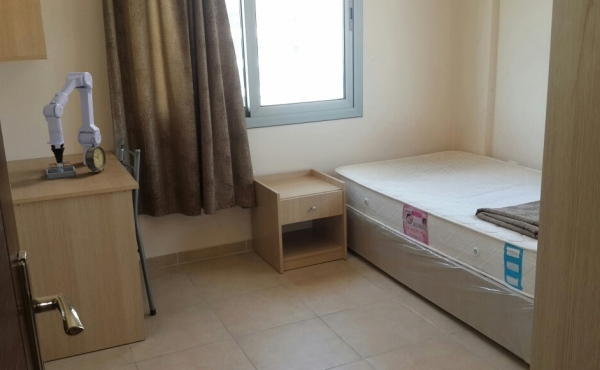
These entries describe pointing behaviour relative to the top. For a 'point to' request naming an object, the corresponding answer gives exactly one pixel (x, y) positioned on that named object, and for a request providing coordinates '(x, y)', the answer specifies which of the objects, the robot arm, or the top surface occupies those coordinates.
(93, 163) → the alarm clock
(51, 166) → the block
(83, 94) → the robot arm
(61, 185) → the top surface
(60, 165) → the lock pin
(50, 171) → the tray
